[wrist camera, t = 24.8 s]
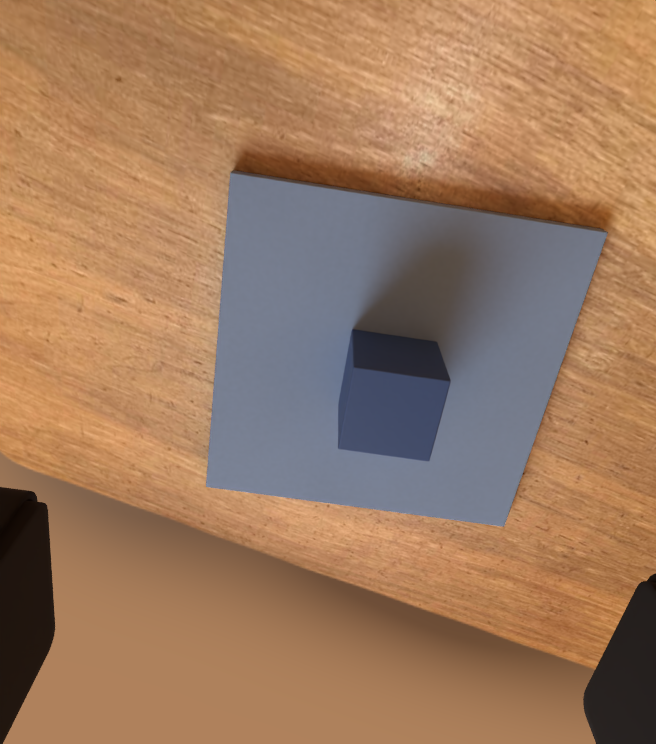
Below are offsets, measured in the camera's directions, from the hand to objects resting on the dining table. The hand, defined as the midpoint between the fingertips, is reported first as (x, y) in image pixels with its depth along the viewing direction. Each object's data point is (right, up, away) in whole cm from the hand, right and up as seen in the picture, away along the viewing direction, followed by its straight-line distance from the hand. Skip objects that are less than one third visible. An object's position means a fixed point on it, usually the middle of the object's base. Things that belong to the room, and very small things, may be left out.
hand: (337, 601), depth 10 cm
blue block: (+3, +4, +27) cm, 27 cm away
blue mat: (+3, +4, +27) cm, 28 cm away
